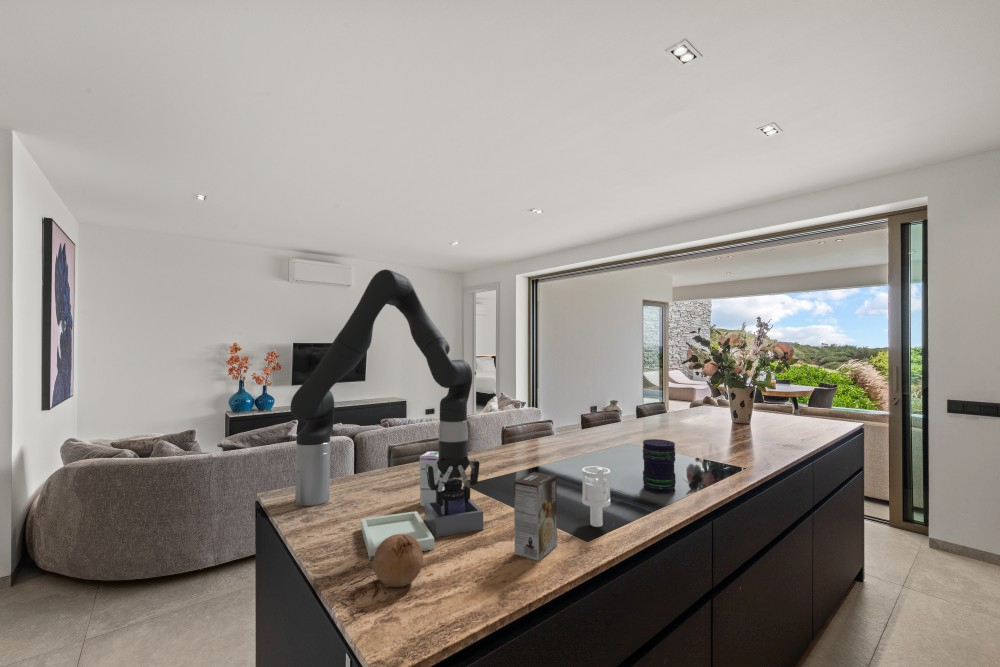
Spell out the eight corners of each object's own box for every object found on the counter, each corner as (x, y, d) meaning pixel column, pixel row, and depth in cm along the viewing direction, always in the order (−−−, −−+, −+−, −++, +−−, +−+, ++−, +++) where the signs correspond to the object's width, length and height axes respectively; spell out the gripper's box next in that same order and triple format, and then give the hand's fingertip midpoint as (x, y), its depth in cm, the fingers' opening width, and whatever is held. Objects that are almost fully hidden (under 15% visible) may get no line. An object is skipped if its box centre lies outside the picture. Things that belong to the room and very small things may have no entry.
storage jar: (638, 490, 143) (638, 443, 143) (648, 482, 151) (647, 438, 152) (671, 496, 137) (670, 447, 138) (679, 488, 145) (678, 441, 146)
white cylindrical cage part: (588, 530, 112) (587, 469, 112) (578, 519, 119) (578, 462, 119) (615, 529, 113) (614, 468, 113) (604, 518, 120) (603, 461, 120)
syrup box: (439, 508, 128) (439, 456, 128) (419, 506, 129) (419, 455, 129) (445, 501, 133) (445, 451, 134) (426, 499, 134) (426, 450, 135)
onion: (411, 605, 85) (423, 566, 82) (362, 593, 84) (372, 553, 81) (420, 564, 94) (432, 527, 91) (376, 553, 93) (386, 515, 90)
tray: (369, 561, 96) (370, 549, 96) (361, 529, 113) (361, 519, 113) (434, 549, 101) (434, 538, 102) (416, 520, 118) (416, 511, 118)
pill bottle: (469, 522, 117) (469, 479, 117) (457, 531, 112) (457, 486, 112) (448, 518, 120) (449, 476, 120) (436, 526, 114) (436, 482, 114)
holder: (436, 537, 108) (436, 518, 108) (424, 519, 119) (424, 502, 119) (483, 529, 112) (483, 511, 113) (467, 513, 124) (467, 496, 124)
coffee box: (533, 539, 107) (532, 471, 107) (557, 545, 104) (557, 475, 104) (513, 554, 99) (513, 480, 100) (539, 562, 96) (539, 485, 96)
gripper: (474, 433, 122) (474, 495, 122) (422, 437, 117) (421, 502, 116) (484, 438, 116) (484, 504, 115) (429, 442, 110) (428, 512, 110)
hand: (452, 503), depth 116 cm, fingers closed on pill bottle, 6 cm apart
